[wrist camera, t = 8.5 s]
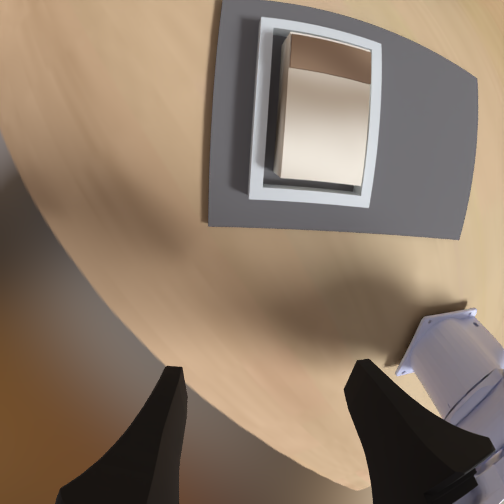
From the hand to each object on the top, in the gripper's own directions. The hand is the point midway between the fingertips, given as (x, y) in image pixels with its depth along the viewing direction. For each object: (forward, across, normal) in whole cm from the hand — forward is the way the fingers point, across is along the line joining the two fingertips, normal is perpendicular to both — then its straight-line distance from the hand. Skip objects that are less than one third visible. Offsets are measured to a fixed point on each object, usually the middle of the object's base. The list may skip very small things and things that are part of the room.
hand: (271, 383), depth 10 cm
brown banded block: (+9, -3, -11) cm, 14 cm away
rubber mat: (+9, -8, -11) cm, 16 cm away
